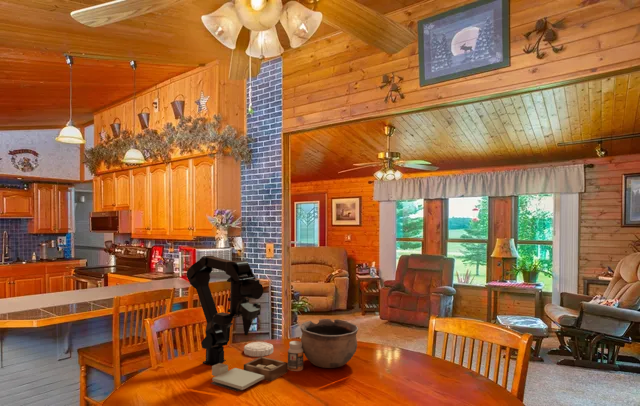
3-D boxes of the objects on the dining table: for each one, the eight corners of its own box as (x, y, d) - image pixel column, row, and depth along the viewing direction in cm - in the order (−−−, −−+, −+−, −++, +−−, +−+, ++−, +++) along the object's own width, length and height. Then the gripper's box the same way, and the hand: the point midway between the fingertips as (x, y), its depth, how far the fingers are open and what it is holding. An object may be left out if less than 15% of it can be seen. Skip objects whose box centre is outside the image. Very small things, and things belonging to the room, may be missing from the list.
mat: (210, 385, 140) (210, 383, 140) (231, 375, 149) (231, 373, 149) (237, 393, 134) (237, 391, 134) (257, 382, 142) (257, 380, 142)
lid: (203, 382, 141) (204, 369, 141) (226, 371, 150) (227, 359, 150) (242, 393, 132) (242, 380, 132) (264, 382, 142) (264, 369, 142)
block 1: (254, 374, 149) (254, 367, 149) (258, 371, 151) (258, 364, 152) (261, 375, 148) (261, 368, 148) (265, 372, 150) (265, 365, 150)
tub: (243, 375, 148) (243, 364, 148) (261, 367, 157) (261, 356, 157) (270, 383, 142) (270, 371, 142) (287, 373, 151) (287, 362, 151)
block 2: (265, 373, 150) (265, 366, 150) (272, 371, 152) (272, 364, 152) (270, 375, 147) (270, 368, 148) (277, 373, 150) (277, 366, 150)
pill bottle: (301, 373, 152) (301, 345, 152) (285, 371, 153) (286, 344, 153) (304, 367, 157) (305, 340, 158) (289, 366, 158) (290, 339, 159)
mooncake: (238, 353, 173) (238, 344, 173) (262, 347, 181) (262, 339, 181) (254, 361, 164) (254, 351, 164) (279, 354, 172) (279, 345, 173)
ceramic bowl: (345, 353, 174) (345, 317, 175) (367, 372, 154) (367, 330, 154) (293, 358, 167) (294, 320, 168) (309, 378, 147) (310, 335, 147)
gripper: (235, 302, 141) (233, 349, 141) (271, 294, 157) (270, 336, 156) (212, 298, 148) (211, 342, 147) (250, 290, 163) (249, 331, 163)
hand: (237, 338), depth 153 cm, fingers open, 9 cm apart
